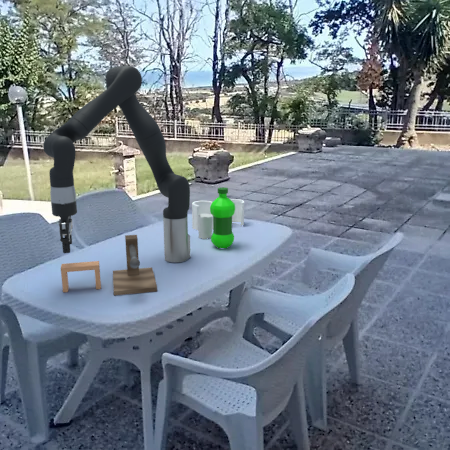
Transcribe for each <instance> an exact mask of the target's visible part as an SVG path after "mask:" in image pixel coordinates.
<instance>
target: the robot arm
mask: <svg viewBox="0 0 450 450" xmlns="http://www.w3.org/2000/svg"><path fill="white" fill-rule="evenodd" d="M105 84H106V86H107V88H106V89H105V90H104V91H102V93H100V94H99V95H98V96H96V97H95V98H93V99H92V100H90V101H89V102H87V103H86V104H85V105H83V106H82V107H81V108H80V109H78V111H76V112H75V113H74V114H73V115H72V116H71V117H70V118H69V120H67V122H65V123H64V124H62V125H61V126H59V127H57V129H55V130H53V131H51V133H50V134H49V135H48V136H46V137H45V140H44V142H43V144H42V145H43V146H42V147H43V151H44V153H45V154H46V155H47V156H49V157H50V158H53V167H51V168H50V169H49V182H50V183H49V184H50V185H49V186H50V190H49V191H50V206H51V212H52V213H51V214H52V215H53V216H54V217H59V219H58V221H57V222H58V229H59V231H58V232H59V235H60V236H59V238H60V239H59V240H60V243H61V244H62V253H63V254H69V253H71V245H72V244H73V234H72V232H73V218H72V217H73V216H75V215H76V214H77V213H78V207H77V194H76V193H77V192H76V189H75V178H74V168H75V161H76V156H77V155H76V145H75V144H74V143H75V142H77V141H81V140H84V139H85V138H86V137H87V136H88V135H90V133H91V132H92V131H93V130H94V129H95V128H96V127H97V126H98V125H99V124H100V123H101V122H102V121H103V120H104V119H105V118H106V117H107V116H108V115H109V114H110V113H111V112H113V111H114V110H115V109H116V108H117V107H119V108H120V111H121V113H122V114H123V116H124V118H125V120H126V122H127V124H128V125H129V128H130V130H131V131H132V134H133V136H134V138H135V140H136V142H137V144H138V147H139V149H140V150H141V152H142V155H143V156H144V157H145V161H147V164H148V165H149V167H150V169H151V172H152V174H153V178H154V181H155V184H156V185H157V188H158V191H159V193H160V194H161V195H163V196H164V197H165V198H168V200H167V201H168V203H167V204H168V205H167V206H166V207H165V208H163V211H162V214H163V215H162V216H163V217H162V219H163V220H162V221H163V222H162V223H163V246H164V247H163V248H164V249H163V250H164V261H166V262H167V263H183V262H187V260H189V259H191V235H190V234H189V229H188V227H189V226H188V223H189V221H188V218H189V217H188V212H189V210H190V200H191V199H190V196H191V188H190V187H191V186H190V182H189V180H188V179H187V178H186V177H185V176H182V175H180V174H175V172H174V171H173V168H172V167H171V165H170V163H169V161H168V159H167V158H168V157H167V148H166V145H167V144H166V140H165V137H164V135H163V132H162V130H161V128H160V126H159V124H158V123H157V121H156V120H155V119H154V117H153V116H152V115H151V114H150V113H149V112H148V111H147V110H146V109H145V108H144V107H143V105H142V104H141V103H140V101H139V99H138V98H137V95H136V94H137V92H138V91H139V90H140V89H141V87H142V84H143V77H142V74H141V72H140V71H139V69H137V68H136V67H134V66H131V65H119V66H118V65H117V66H113V67H111V68H109V69H108V70H107V72H106V74H105Z"/></svg>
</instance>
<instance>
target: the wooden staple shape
mask: <svg viewBox="0 0 450 450" xmlns="http://www.w3.org/2000/svg"><path fill="white" fill-rule="evenodd" d="M100 267H101V265H100V261H99V260H96V261H95V260H94V261H81V262H67V263H61V265H60V274H61V275H60V277H61V285H62V293H68V292H69V288H70V287H69V277H68V273H72V272H85V271H94V280H95V290H102V289H101V288H102V280H101V269H100Z"/></svg>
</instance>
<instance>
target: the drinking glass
mask: <svg viewBox="0 0 450 450" xmlns="http://www.w3.org/2000/svg"><path fill="white" fill-rule="evenodd" d="M212 218H213V215H211V214H199V215H198V231H197V232H198V238H199V239H200V238H202V239H201V240H208V239H207V238H210V239H211V237H212V234H213V230H212Z"/></svg>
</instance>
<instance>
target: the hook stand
mask: <svg viewBox="0 0 450 450" xmlns="http://www.w3.org/2000/svg"><path fill="white" fill-rule="evenodd" d="M124 238H125V239H124V241H125V254H126V255H125V257H126V269H117V270H116V269H115V270H112V287H113V296H122V295H133V294H144V293H153V292H158V284H157V282H156V277H155V273H154V270H153V267H142V268H140V265H141V262H140V260H139V243H138V235H137V234H128V235H127V234H126V235H124Z"/></svg>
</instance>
